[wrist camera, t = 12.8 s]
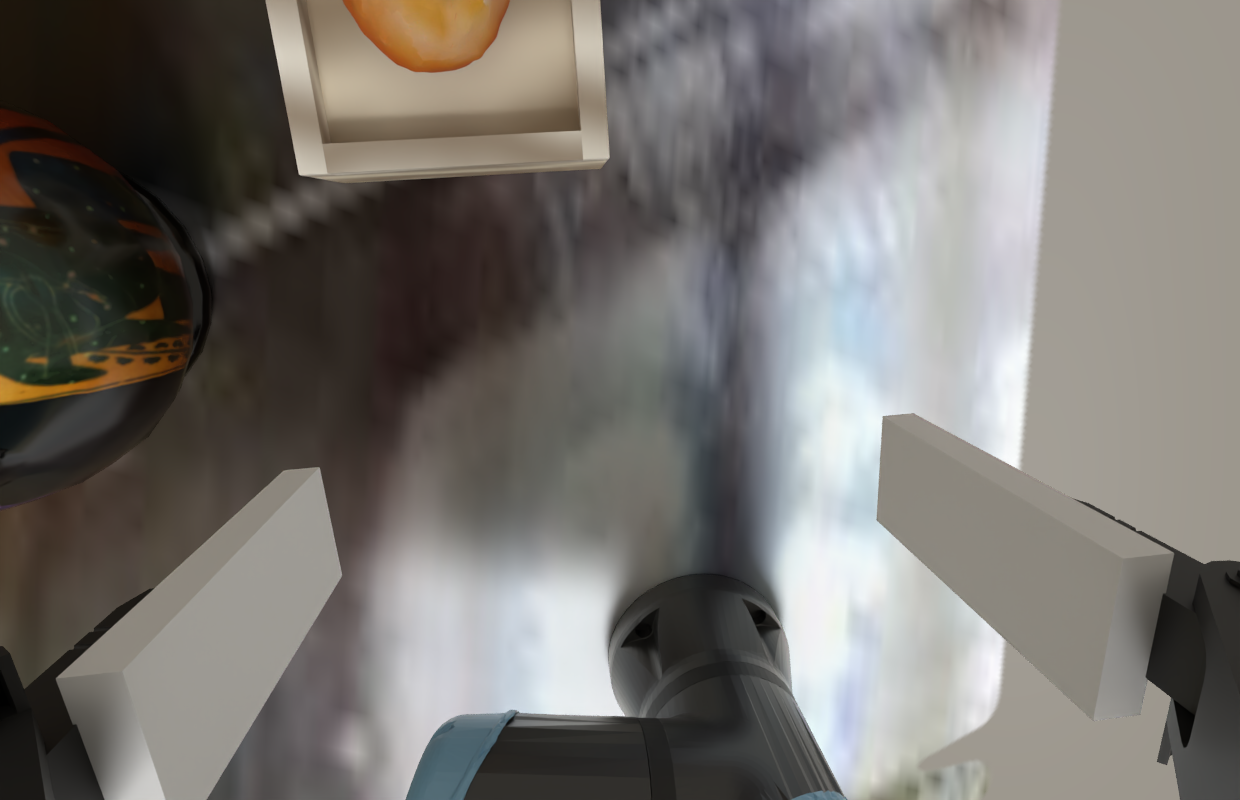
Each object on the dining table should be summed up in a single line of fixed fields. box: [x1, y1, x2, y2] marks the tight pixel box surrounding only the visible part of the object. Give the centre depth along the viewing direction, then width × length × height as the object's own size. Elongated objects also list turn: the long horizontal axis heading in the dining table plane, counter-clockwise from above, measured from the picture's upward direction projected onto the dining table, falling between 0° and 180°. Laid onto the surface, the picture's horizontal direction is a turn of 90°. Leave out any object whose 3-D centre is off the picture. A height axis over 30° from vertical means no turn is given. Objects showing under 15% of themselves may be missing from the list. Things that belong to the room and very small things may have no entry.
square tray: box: [266, 0, 610, 183], centre depth 36 cm, size 17×17×8 cm
